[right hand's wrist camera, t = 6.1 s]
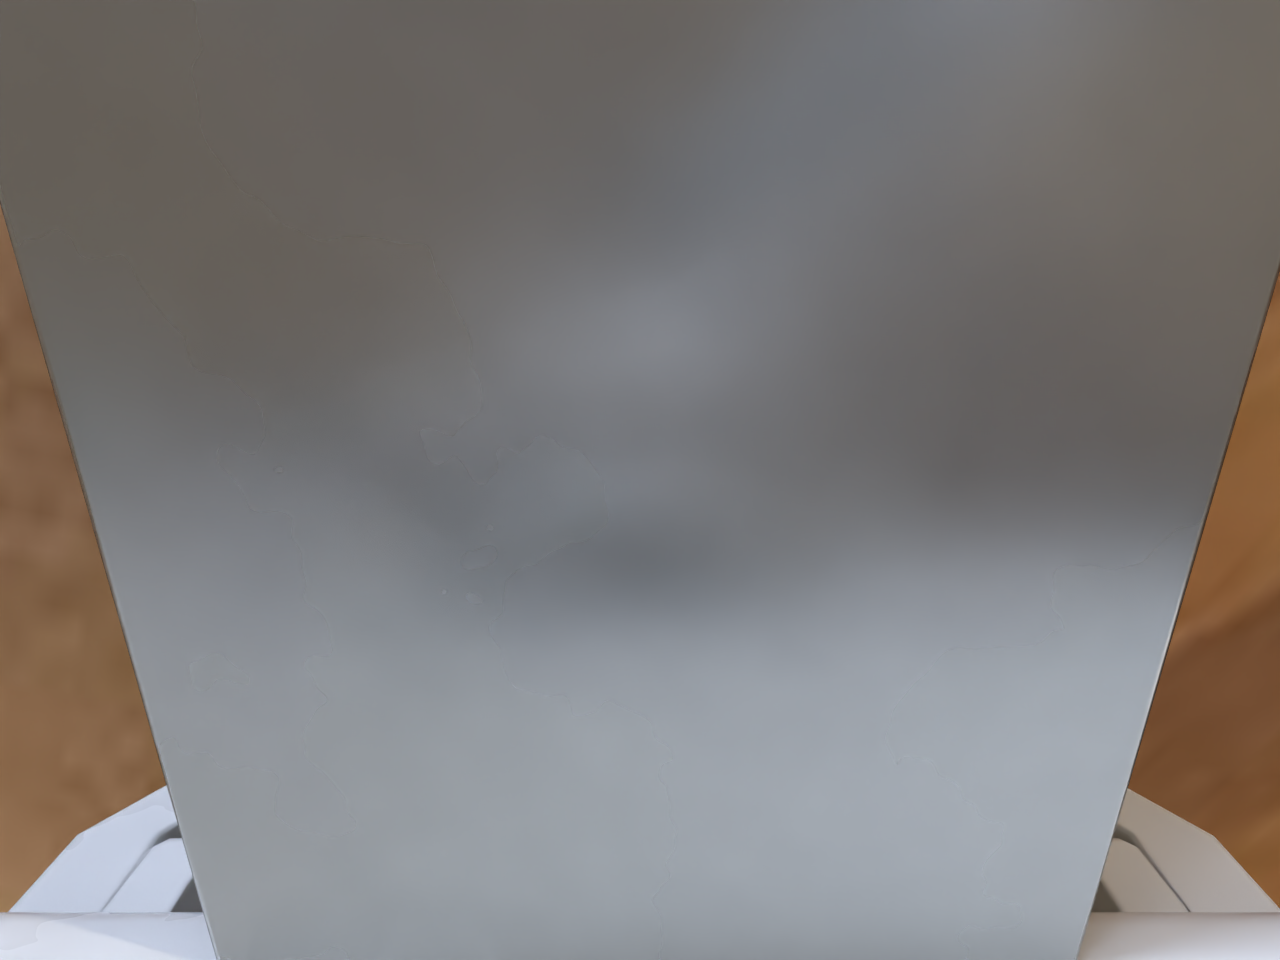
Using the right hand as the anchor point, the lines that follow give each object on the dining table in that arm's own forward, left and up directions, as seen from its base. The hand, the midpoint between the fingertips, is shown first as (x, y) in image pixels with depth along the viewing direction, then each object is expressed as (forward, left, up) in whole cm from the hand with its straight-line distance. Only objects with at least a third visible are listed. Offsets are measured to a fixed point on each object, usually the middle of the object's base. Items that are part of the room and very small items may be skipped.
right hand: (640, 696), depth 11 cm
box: (-10, +3, -3) cm, 11 cm away
